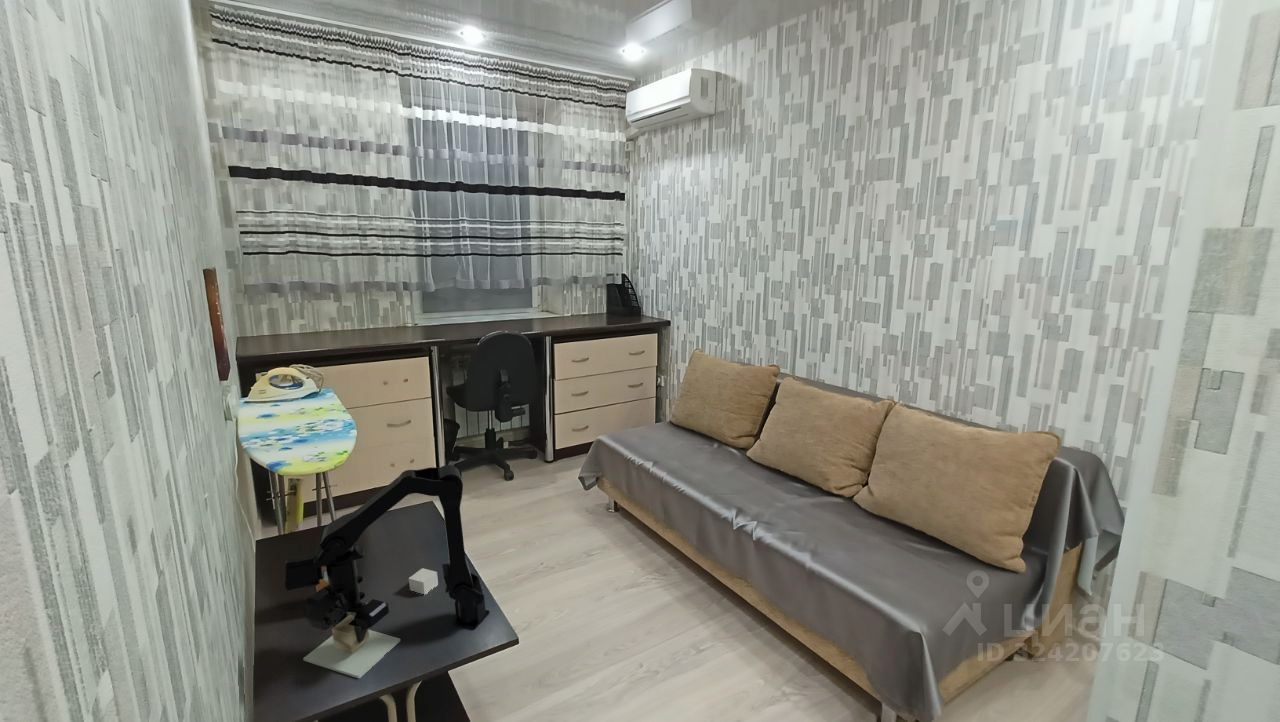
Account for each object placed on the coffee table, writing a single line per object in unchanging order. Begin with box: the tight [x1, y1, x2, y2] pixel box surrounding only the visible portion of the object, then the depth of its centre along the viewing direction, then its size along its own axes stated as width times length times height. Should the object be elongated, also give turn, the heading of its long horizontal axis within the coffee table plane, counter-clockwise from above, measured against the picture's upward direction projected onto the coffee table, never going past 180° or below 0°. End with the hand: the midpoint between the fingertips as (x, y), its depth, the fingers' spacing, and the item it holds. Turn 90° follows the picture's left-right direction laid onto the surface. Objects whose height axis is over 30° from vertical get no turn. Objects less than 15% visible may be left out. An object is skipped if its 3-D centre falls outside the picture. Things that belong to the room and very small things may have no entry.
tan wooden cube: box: [331, 614, 369, 653], centre depth 125 cm, size 5×5×5 cm
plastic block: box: [408, 567, 439, 596], centre depth 149 cm, size 5×5×4 cm
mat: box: [303, 629, 401, 679], centre depth 126 cm, size 16×12×1 cm
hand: (351, 639), depth 126 cm, fingers closed on tan wooden cube, 5 cm apart
